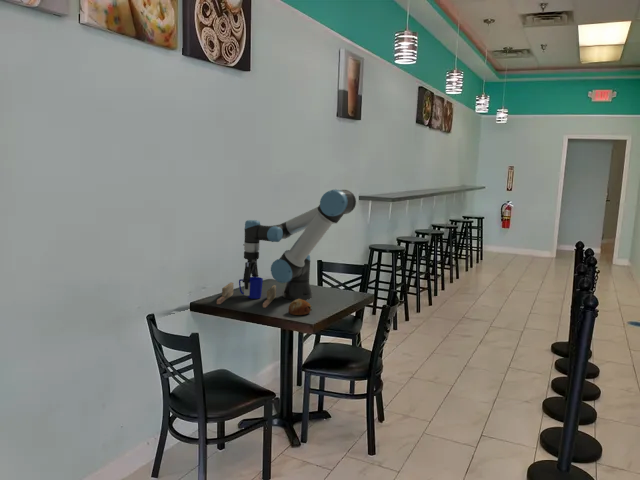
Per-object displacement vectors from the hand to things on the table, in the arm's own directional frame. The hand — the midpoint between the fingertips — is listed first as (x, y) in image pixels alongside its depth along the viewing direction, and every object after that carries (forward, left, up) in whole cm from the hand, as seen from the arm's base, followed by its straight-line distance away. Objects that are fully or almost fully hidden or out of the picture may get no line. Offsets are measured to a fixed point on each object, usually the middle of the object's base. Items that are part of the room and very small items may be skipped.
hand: (250, 292), depth 262 cm
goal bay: (0, +14, -3) cm, 14 cm away
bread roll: (-31, +24, -3) cm, 40 cm away
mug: (0, 0, -3) cm, 3 cm away
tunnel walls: (0, +2, -3) cm, 3 cm away
